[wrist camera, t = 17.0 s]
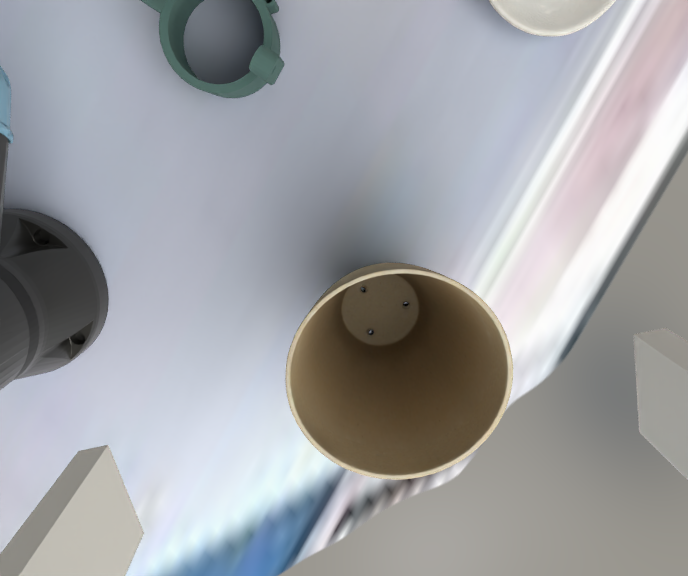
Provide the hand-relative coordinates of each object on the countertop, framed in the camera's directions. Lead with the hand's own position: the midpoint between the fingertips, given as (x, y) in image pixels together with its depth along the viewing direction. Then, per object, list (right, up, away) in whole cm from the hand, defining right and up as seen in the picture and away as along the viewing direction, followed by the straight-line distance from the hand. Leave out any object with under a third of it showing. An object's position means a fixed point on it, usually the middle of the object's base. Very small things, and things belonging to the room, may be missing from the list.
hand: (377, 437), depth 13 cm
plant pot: (+3, +2, +37) cm, 37 cm away
